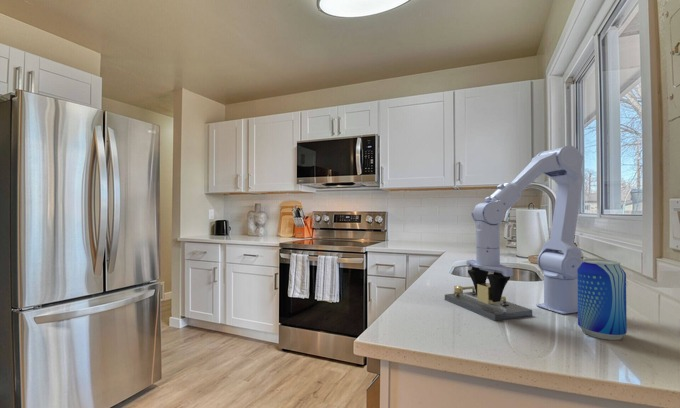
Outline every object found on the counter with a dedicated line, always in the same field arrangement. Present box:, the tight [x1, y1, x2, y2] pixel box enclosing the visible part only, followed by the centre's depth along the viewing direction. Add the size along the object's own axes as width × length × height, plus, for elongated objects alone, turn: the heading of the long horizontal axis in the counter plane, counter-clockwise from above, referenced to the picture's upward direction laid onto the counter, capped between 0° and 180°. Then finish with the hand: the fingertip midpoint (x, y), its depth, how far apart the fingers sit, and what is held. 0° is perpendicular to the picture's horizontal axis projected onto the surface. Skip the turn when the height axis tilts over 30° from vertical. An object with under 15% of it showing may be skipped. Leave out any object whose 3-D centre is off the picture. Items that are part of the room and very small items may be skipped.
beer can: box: [577, 258, 628, 341], centre depth 73 cm, size 8×8×16 cm
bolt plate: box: [444, 285, 533, 322], centre depth 92 cm, size 12×20×4 cm, turn 18°
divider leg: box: [477, 282, 507, 304], centre depth 88 cm, size 8×4×5 cm, turn 108°
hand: (488, 298), depth 88 cm, fingers open, 5 cm apart
